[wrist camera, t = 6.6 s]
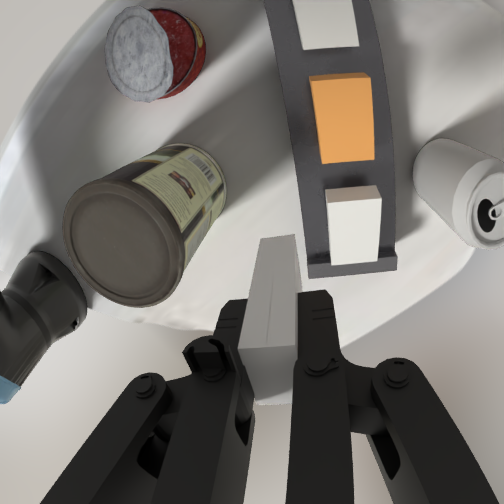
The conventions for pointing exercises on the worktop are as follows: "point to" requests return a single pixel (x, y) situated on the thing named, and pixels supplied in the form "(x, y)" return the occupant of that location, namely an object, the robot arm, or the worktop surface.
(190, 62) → the canned food
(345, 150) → the orange rectangular block
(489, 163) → the can
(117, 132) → the worktop surface
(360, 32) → the dark grey tray
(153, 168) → the coffee can
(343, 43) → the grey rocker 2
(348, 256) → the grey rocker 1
